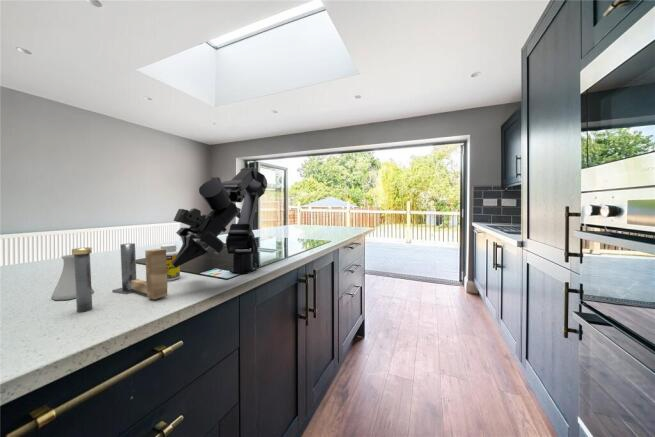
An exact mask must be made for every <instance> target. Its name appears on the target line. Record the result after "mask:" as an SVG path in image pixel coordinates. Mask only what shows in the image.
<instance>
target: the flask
mask: <svg viewBox="0 0 655 437" xmlns="http://www.w3.org/2000/svg"><path fill="white" fill-rule="evenodd" d="M61 259H63V266H62V270H61V271H62V272H61V274H60V276H59V279H58V281H57V284H56V286H55V288H54V290H53V292H52V295H51V297H50V298H51V299H52V300H54V301H61V300H62V301H63V300H64V301H65V300H66V301H67V300H73V299H76V285H75V266H74V255H72V254H65V255H61ZM91 288H92V294H93V293H94V292H95V291H94V289H93V286H91Z"/></svg>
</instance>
